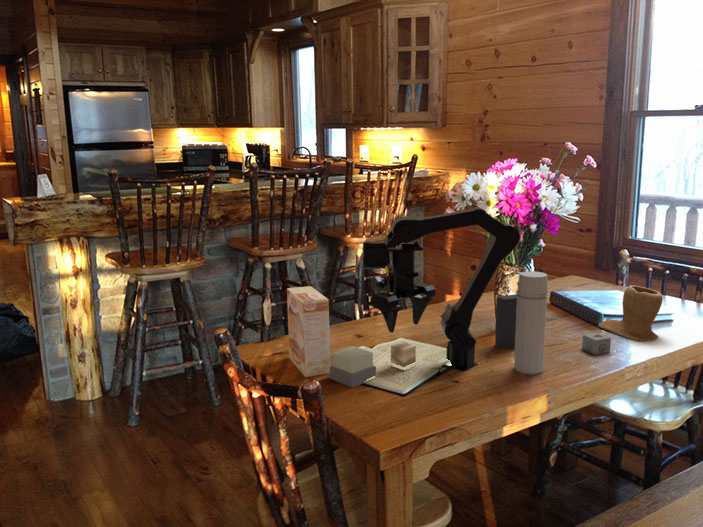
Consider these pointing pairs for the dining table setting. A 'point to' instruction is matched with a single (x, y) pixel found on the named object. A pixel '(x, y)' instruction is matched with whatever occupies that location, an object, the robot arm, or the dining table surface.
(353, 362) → the tower top
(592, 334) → the grey cube
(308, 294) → the coffeecake box
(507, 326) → the dark upright pillar
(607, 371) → the dining table surface
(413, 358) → the wood block
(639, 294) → the brown hollow flared piece
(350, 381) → the tower base
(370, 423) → the dining table surface
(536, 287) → the water bottle
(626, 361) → the dining table surface
